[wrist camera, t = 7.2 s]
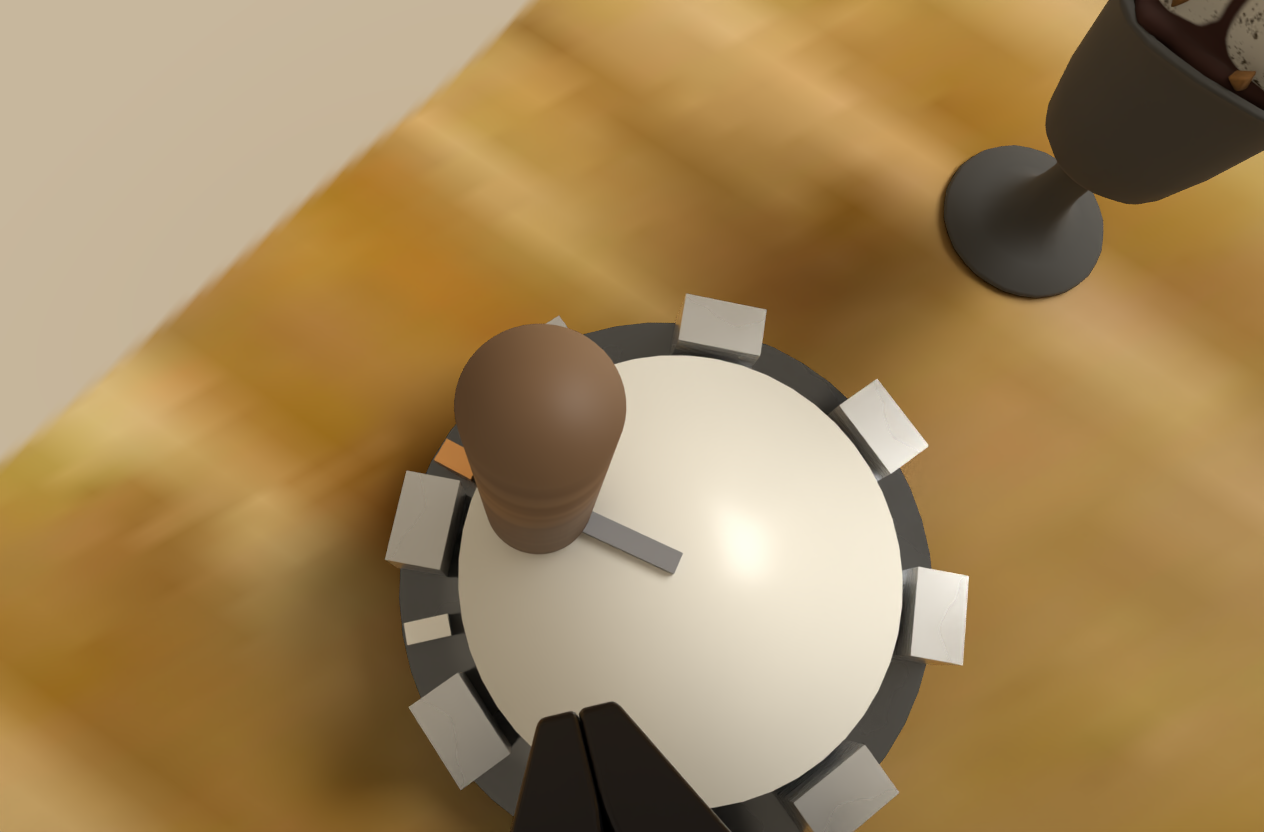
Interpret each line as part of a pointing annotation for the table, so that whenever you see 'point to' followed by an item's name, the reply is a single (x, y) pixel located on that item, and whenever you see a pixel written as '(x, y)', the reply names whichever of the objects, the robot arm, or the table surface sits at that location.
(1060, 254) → the sundae
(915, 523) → the dial plate
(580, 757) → the robot arm
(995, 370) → the table surface
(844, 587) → the dial
